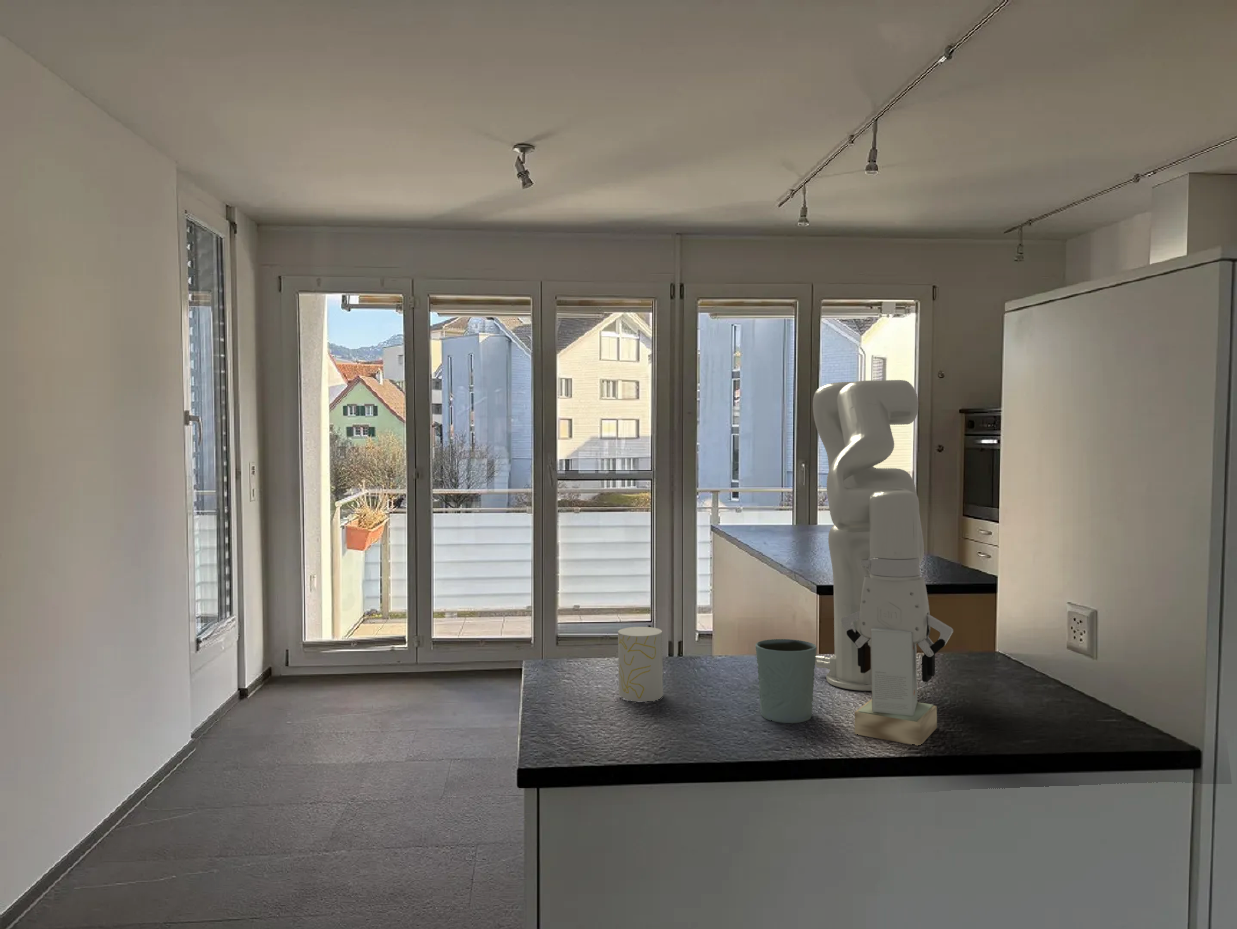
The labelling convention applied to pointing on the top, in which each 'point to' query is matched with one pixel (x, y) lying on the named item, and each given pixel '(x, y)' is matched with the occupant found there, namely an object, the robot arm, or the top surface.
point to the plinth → (897, 724)
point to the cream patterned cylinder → (640, 663)
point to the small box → (893, 672)
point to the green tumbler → (786, 679)
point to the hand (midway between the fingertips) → (895, 675)
